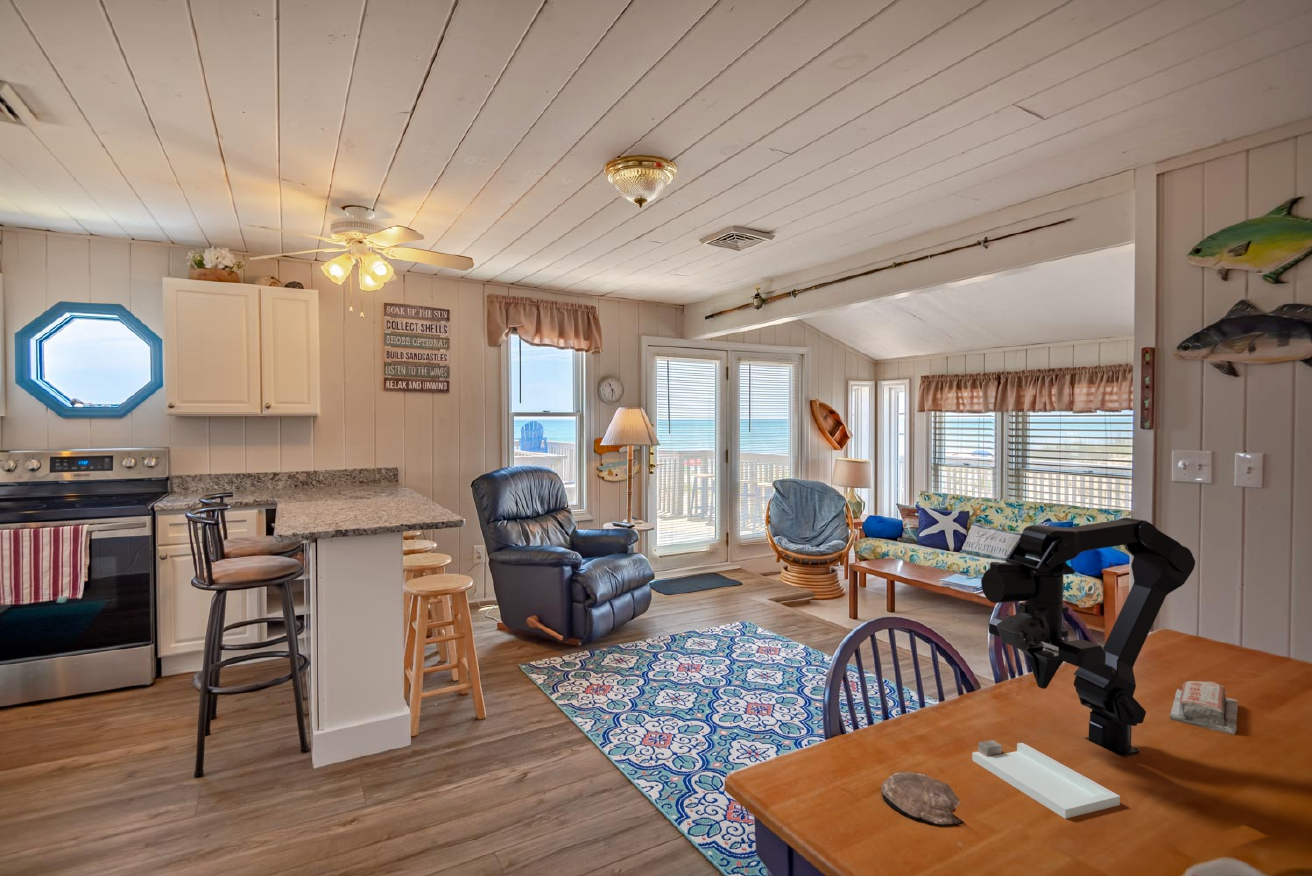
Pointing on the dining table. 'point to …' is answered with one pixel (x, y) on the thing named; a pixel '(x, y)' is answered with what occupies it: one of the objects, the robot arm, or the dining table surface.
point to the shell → (921, 798)
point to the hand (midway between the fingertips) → (1042, 687)
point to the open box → (1048, 781)
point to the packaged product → (1205, 706)
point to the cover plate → (990, 748)
